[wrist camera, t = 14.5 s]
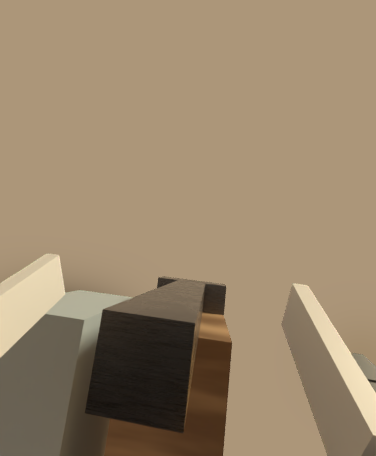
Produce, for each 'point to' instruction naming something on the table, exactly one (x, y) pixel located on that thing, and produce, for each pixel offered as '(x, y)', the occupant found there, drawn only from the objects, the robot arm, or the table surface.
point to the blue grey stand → (54, 382)
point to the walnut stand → (197, 405)
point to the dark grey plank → (151, 353)
